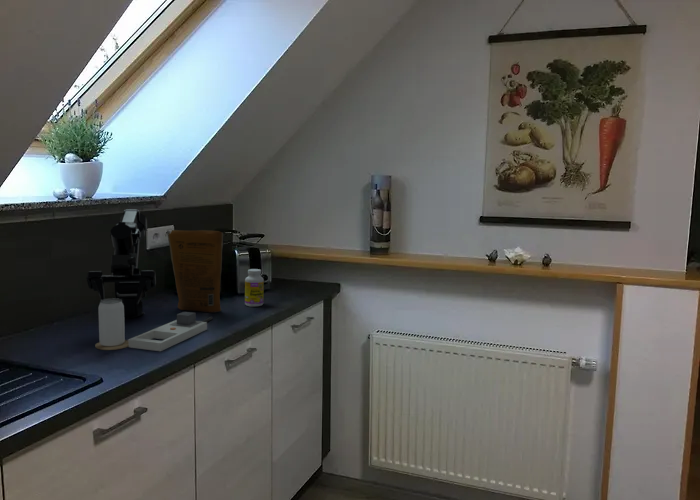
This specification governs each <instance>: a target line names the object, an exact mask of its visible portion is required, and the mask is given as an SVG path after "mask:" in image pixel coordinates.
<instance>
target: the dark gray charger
mask: <svg viewBox="0 0 700 500" xmlns="http://www.w3.org/2000/svg"><path fill="white" fill-rule="evenodd" d="M196 316H197V315H196V312H193V311H182V312H180V313H177V314H176V320H177V324H183V325H190V324H192V323H195V322H196V321H197V318H196Z"/></svg>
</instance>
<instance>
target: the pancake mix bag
mask: <svg viewBox="0 0 700 500" xmlns="http://www.w3.org/2000/svg"><path fill="white" fill-rule="evenodd" d="M167 233H168V234H167V239H168V245H169V251H170V259H171V263H172V270H173V275H174V279H175V289H176V292H177V297H178V302H177V309H179V310H180V311H186V312H203V313H218V312H222V308H221V299H220V298H221V297H220V295H221V293H220V291H221V276H222V269H223V266H222V265H223V264H222V263H223V247H224V245H223V244H224V243H223V242H224V241H223V239H224V232H222V231H220V230H209V229H207V230H206V229H198V230H197V229H194V230H192V229H191V230H186V229H184V230H183V229H182V230H181V229H179V230H178V229H173V230H171V232H167Z"/></svg>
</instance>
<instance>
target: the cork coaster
mask: <svg viewBox="0 0 700 500" xmlns="http://www.w3.org/2000/svg"><path fill="white" fill-rule="evenodd" d="M94 345H95V349H98V350H101V351H115V350H116V351H117V350H123V349H125V348H129V340H128V339H125V342H124V343H123V344H122V345H119V346H113V347H105V346H102V345H101V344H100V341H99V342H97V343H95V344H94Z"/></svg>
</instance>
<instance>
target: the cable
mask: <svg viewBox="0 0 700 500" xmlns="http://www.w3.org/2000/svg"><path fill="white" fill-rule="evenodd" d="M211 320H213V316H209V317H208V318H205V319H203V320H202V321H203V322H207V323H209V322H210V321H211Z"/></svg>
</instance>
